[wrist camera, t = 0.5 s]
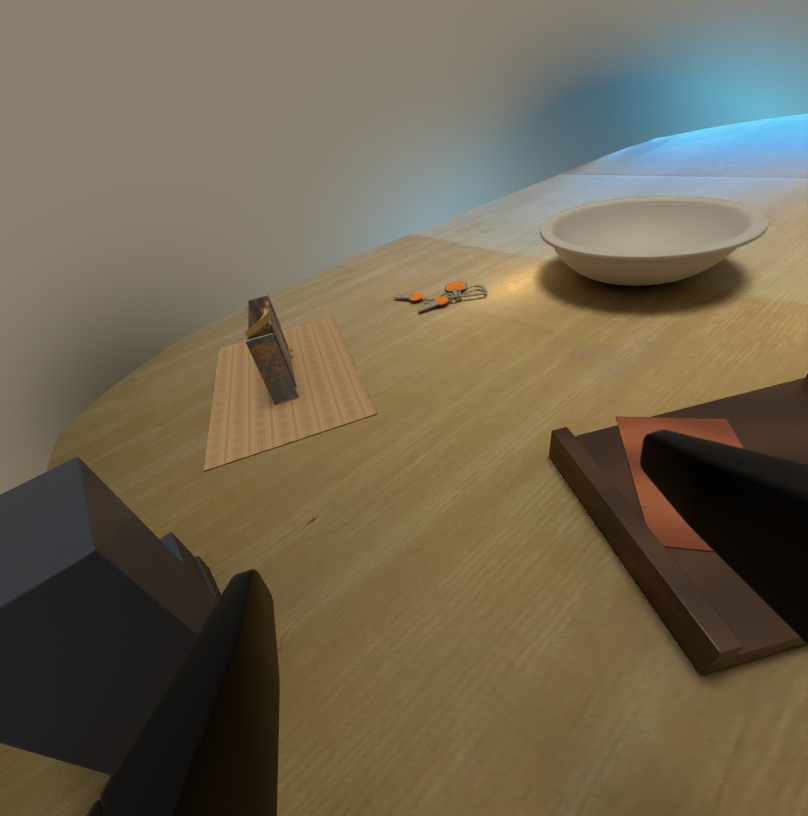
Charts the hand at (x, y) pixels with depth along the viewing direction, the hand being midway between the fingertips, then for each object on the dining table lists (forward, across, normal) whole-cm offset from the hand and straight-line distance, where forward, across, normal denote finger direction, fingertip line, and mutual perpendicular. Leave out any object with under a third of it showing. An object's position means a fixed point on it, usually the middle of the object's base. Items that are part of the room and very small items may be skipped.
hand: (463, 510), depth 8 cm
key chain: (+47, -14, +10) cm, 50 cm away
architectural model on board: (+38, +8, +11) cm, 41 cm away
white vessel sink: (+39, -39, +11) cm, 56 cm away
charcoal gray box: (+10, +15, +15) cm, 23 cm away
